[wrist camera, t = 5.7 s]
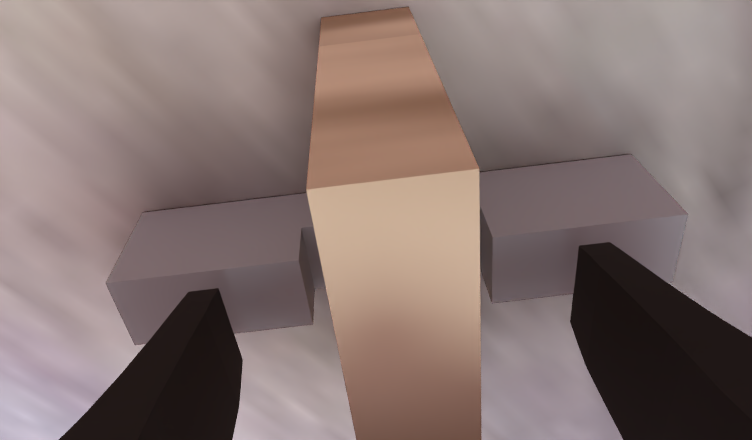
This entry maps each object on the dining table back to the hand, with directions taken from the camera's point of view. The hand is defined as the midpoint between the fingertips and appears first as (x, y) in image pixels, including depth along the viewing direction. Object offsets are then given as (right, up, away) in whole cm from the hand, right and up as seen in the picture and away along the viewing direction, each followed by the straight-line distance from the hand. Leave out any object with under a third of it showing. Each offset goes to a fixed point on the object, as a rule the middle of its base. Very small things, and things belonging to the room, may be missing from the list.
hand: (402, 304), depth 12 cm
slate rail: (0, +2, +3) cm, 3 cm away
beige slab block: (0, +2, +3) cm, 3 cm away
